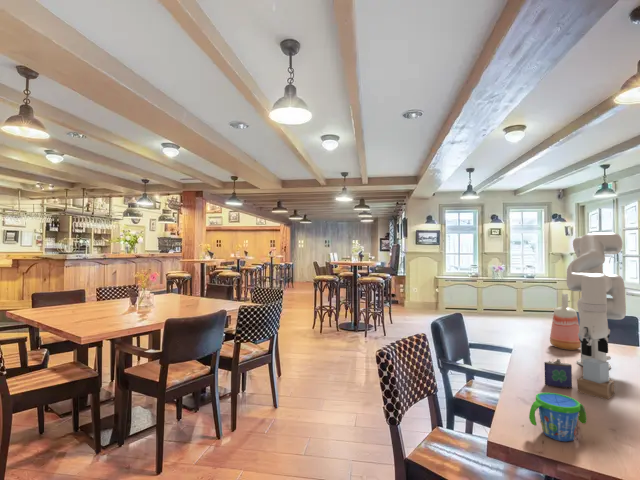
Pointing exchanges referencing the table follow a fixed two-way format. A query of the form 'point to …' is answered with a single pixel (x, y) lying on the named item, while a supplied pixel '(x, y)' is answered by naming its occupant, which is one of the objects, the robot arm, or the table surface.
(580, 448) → the table surface
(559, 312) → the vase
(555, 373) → the clover trinket box
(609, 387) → the block
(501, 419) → the table surface
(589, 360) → the pale blue cube
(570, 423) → the snack cup
